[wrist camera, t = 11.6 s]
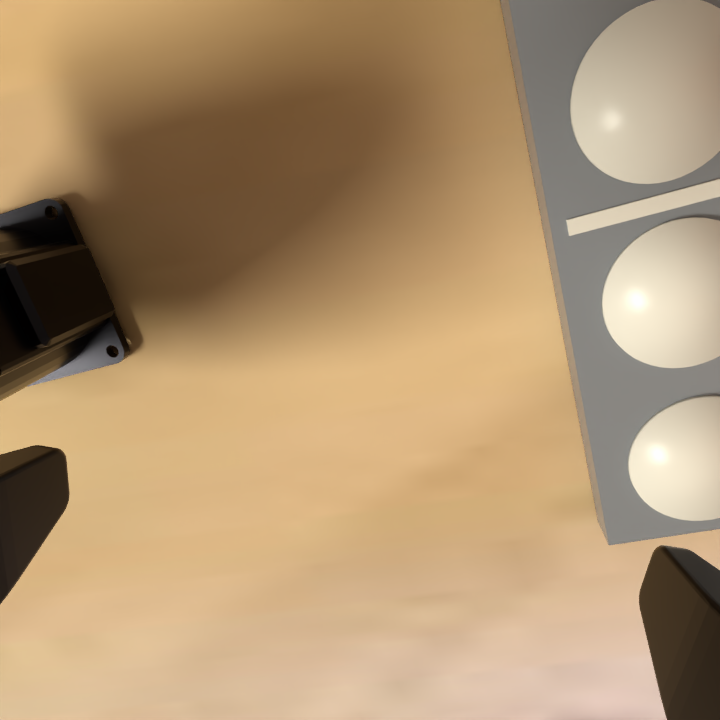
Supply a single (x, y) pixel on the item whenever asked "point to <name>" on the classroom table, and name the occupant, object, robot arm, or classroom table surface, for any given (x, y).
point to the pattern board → (632, 241)
